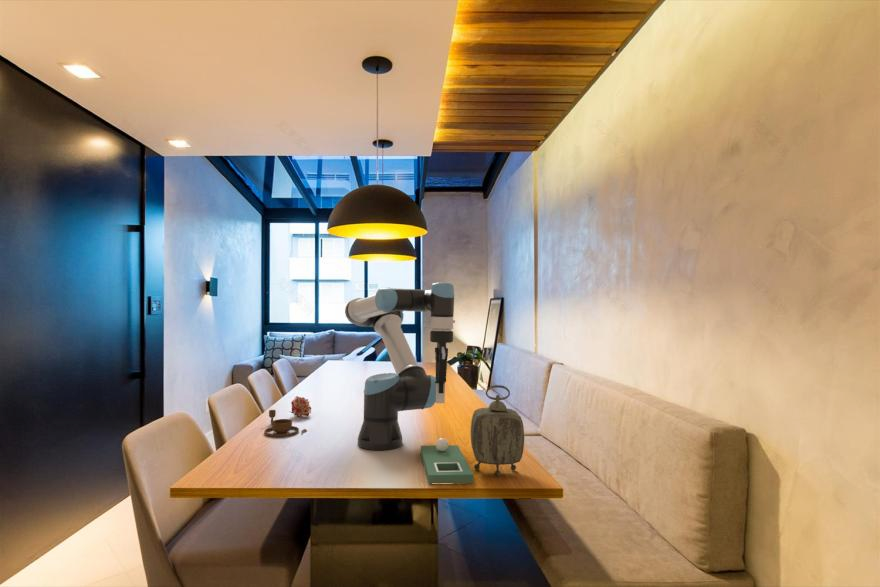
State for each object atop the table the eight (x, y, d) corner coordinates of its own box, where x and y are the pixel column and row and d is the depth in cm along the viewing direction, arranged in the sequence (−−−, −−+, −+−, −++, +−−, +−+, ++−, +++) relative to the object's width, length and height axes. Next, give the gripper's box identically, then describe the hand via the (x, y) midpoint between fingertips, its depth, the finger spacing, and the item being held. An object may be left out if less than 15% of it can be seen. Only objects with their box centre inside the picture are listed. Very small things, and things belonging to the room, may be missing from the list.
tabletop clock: (518, 468, 135) (520, 383, 136) (525, 480, 126) (526, 388, 127) (469, 467, 135) (471, 382, 136) (472, 479, 126) (474, 387, 126)
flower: (281, 413, 189) (290, 399, 187) (291, 404, 198) (300, 390, 196) (300, 427, 188) (309, 413, 186) (309, 417, 197) (319, 404, 195)
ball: (436, 453, 139) (436, 440, 139) (434, 449, 143) (434, 436, 143) (449, 453, 140) (449, 440, 140) (447, 449, 144) (447, 436, 144)
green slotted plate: (428, 484, 121) (428, 475, 121) (420, 453, 147) (420, 445, 147) (473, 483, 122) (473, 474, 122) (457, 453, 148) (457, 445, 148)
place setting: (250, 439, 160) (251, 422, 160) (267, 424, 180) (268, 409, 180) (301, 439, 161) (302, 422, 161) (313, 424, 181) (313, 409, 181)
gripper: (456, 331, 144) (454, 406, 143) (450, 329, 157) (448, 398, 156) (432, 330, 143) (430, 407, 142) (428, 329, 156) (426, 398, 155)
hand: (440, 402), depth 149 cm, fingers closed
